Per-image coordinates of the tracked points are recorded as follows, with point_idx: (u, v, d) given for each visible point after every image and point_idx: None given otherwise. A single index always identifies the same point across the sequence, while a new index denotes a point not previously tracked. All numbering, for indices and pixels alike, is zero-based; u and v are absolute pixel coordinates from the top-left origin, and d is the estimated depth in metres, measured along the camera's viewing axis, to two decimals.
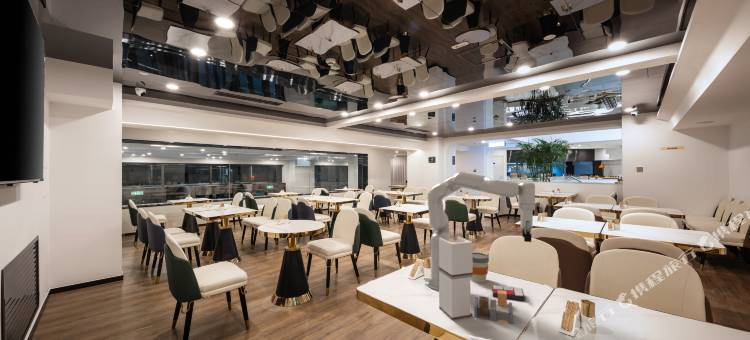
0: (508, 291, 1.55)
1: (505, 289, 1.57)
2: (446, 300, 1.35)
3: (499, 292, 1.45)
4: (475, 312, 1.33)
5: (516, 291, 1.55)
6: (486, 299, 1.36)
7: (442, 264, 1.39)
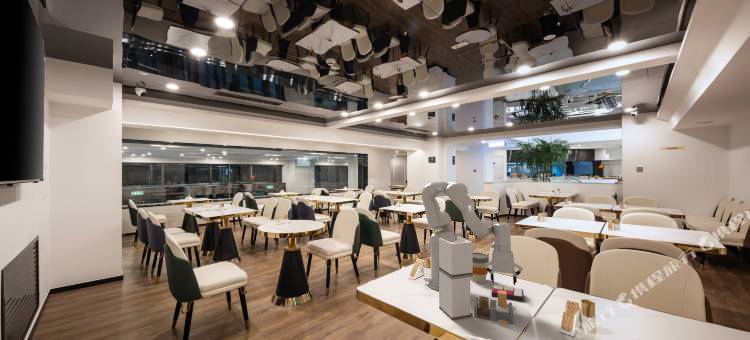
0: (507, 291, 1.55)
1: (505, 289, 1.57)
2: (446, 300, 1.35)
3: (499, 292, 1.45)
4: (475, 312, 1.33)
5: (516, 291, 1.54)
6: (486, 299, 1.36)
7: (442, 264, 1.39)
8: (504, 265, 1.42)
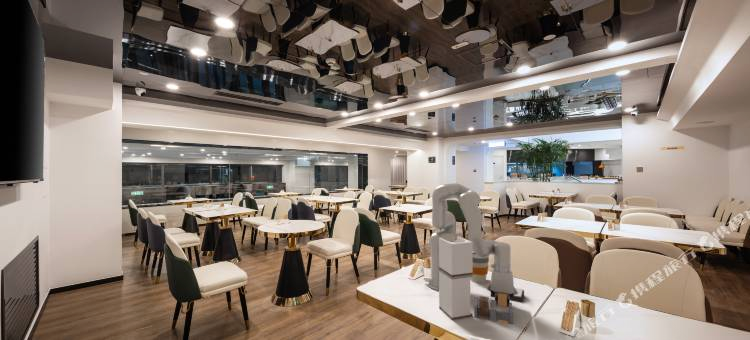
0: None
1: None
2: (446, 300, 1.35)
3: (499, 292, 1.45)
4: (475, 312, 1.33)
5: None
6: (486, 299, 1.36)
7: (442, 264, 1.39)
8: (503, 286, 1.43)
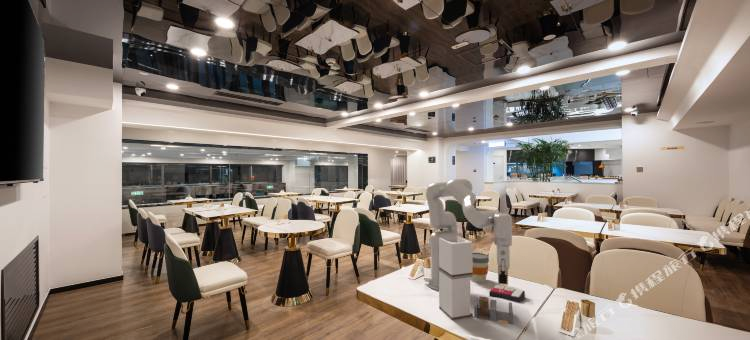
0: (506, 291, 1.55)
1: (505, 289, 1.57)
2: (446, 300, 1.35)
3: None
4: (475, 312, 1.33)
5: (515, 292, 1.53)
6: (486, 299, 1.36)
7: (442, 264, 1.39)
8: None
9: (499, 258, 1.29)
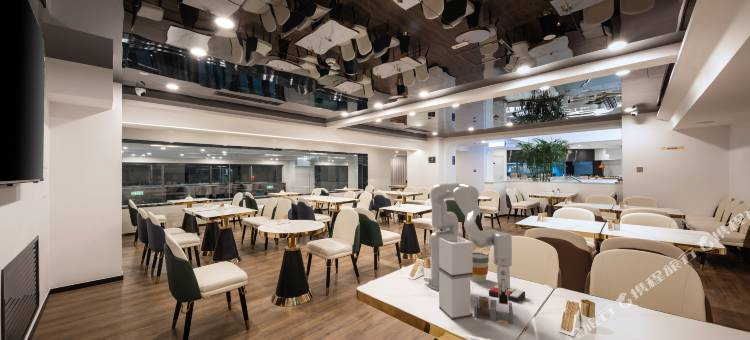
0: None
1: None
2: (446, 300, 1.35)
3: None
4: (475, 312, 1.33)
5: (514, 292, 1.53)
6: (486, 299, 1.36)
7: (442, 264, 1.39)
8: None
9: (499, 278, 1.29)
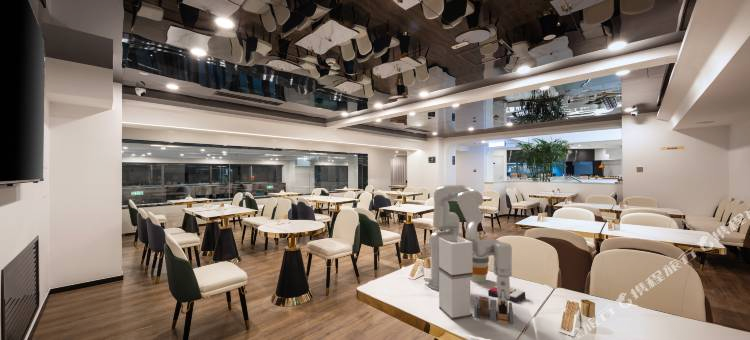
0: None
1: None
2: (446, 300, 1.35)
3: None
4: (475, 312, 1.33)
5: (514, 293, 1.53)
6: (486, 299, 1.36)
7: (442, 264, 1.39)
8: None
9: (499, 289, 1.29)
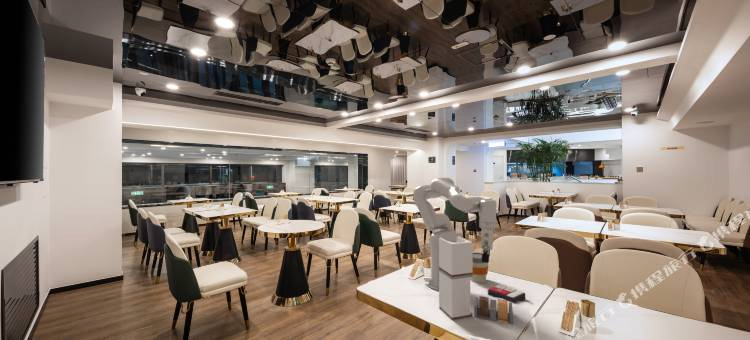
0: (504, 291, 1.55)
1: (504, 289, 1.57)
2: (446, 300, 1.35)
3: (504, 302, 1.32)
4: (475, 312, 1.33)
5: (513, 293, 1.52)
6: (486, 299, 1.36)
7: (442, 264, 1.39)
8: None
9: (483, 240, 1.41)
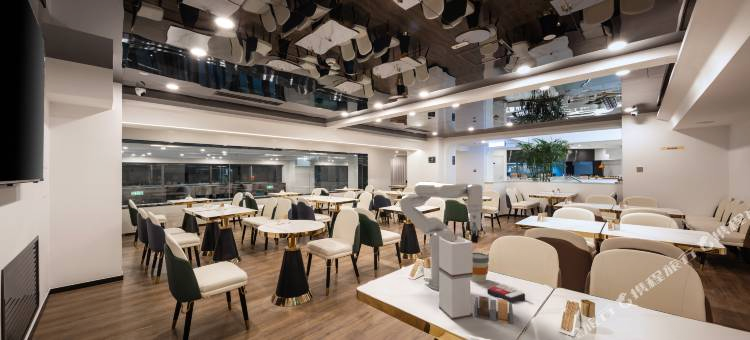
0: (503, 290, 1.55)
1: (504, 289, 1.57)
2: (446, 300, 1.35)
3: (504, 302, 1.32)
4: (475, 312, 1.33)
5: (512, 293, 1.52)
6: (486, 299, 1.36)
7: (442, 264, 1.39)
8: None
9: (471, 222, 1.51)
